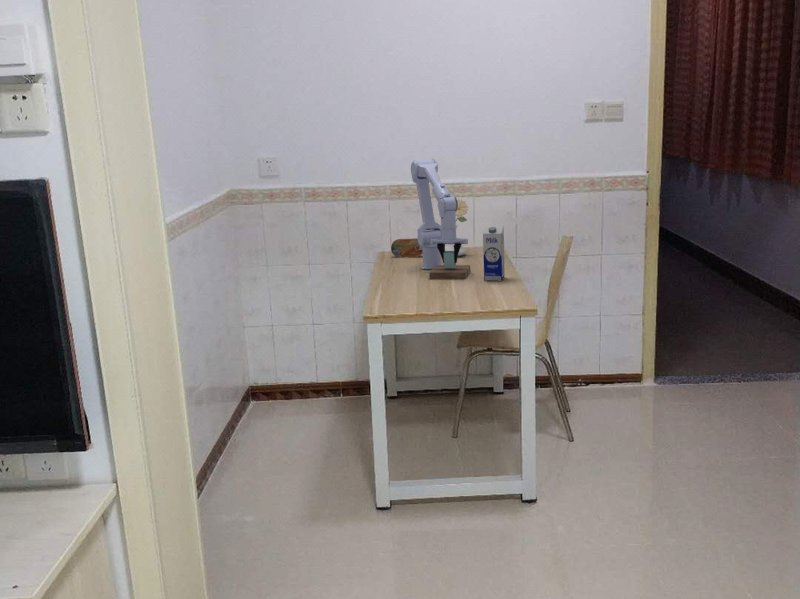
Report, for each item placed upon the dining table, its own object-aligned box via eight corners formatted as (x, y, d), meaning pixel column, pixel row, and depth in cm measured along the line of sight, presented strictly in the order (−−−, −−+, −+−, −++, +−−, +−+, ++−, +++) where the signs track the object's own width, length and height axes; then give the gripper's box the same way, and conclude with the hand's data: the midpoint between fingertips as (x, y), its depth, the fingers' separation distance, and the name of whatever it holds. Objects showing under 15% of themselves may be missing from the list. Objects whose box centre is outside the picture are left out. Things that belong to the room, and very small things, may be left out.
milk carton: (505, 277, 303) (504, 225, 298) (502, 281, 296) (501, 228, 292) (486, 277, 305) (485, 225, 300) (483, 280, 298) (482, 228, 294)
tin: (391, 257, 354) (390, 239, 352) (392, 256, 357) (391, 238, 355) (424, 257, 350) (423, 238, 348) (425, 256, 353) (424, 237, 351)
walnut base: (435, 271, 319) (435, 265, 319) (470, 271, 316) (470, 265, 316) (429, 279, 306) (429, 272, 305) (465, 279, 303) (465, 272, 302)
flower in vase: (437, 258, 347) (435, 201, 341) (444, 253, 357) (442, 198, 351) (467, 258, 343) (465, 200, 337) (472, 253, 353) (470, 197, 347)
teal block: (445, 265, 313) (445, 250, 311) (455, 265, 312) (455, 250, 310) (444, 267, 309) (443, 252, 307) (454, 267, 308) (453, 252, 307)
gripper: (428, 230, 305) (429, 264, 308) (465, 229, 301) (466, 264, 305) (431, 227, 311) (433, 261, 314) (468, 226, 308) (469, 260, 311)
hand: (449, 262), depth 310 cm, fingers closed on teal block, 4 cm apart
